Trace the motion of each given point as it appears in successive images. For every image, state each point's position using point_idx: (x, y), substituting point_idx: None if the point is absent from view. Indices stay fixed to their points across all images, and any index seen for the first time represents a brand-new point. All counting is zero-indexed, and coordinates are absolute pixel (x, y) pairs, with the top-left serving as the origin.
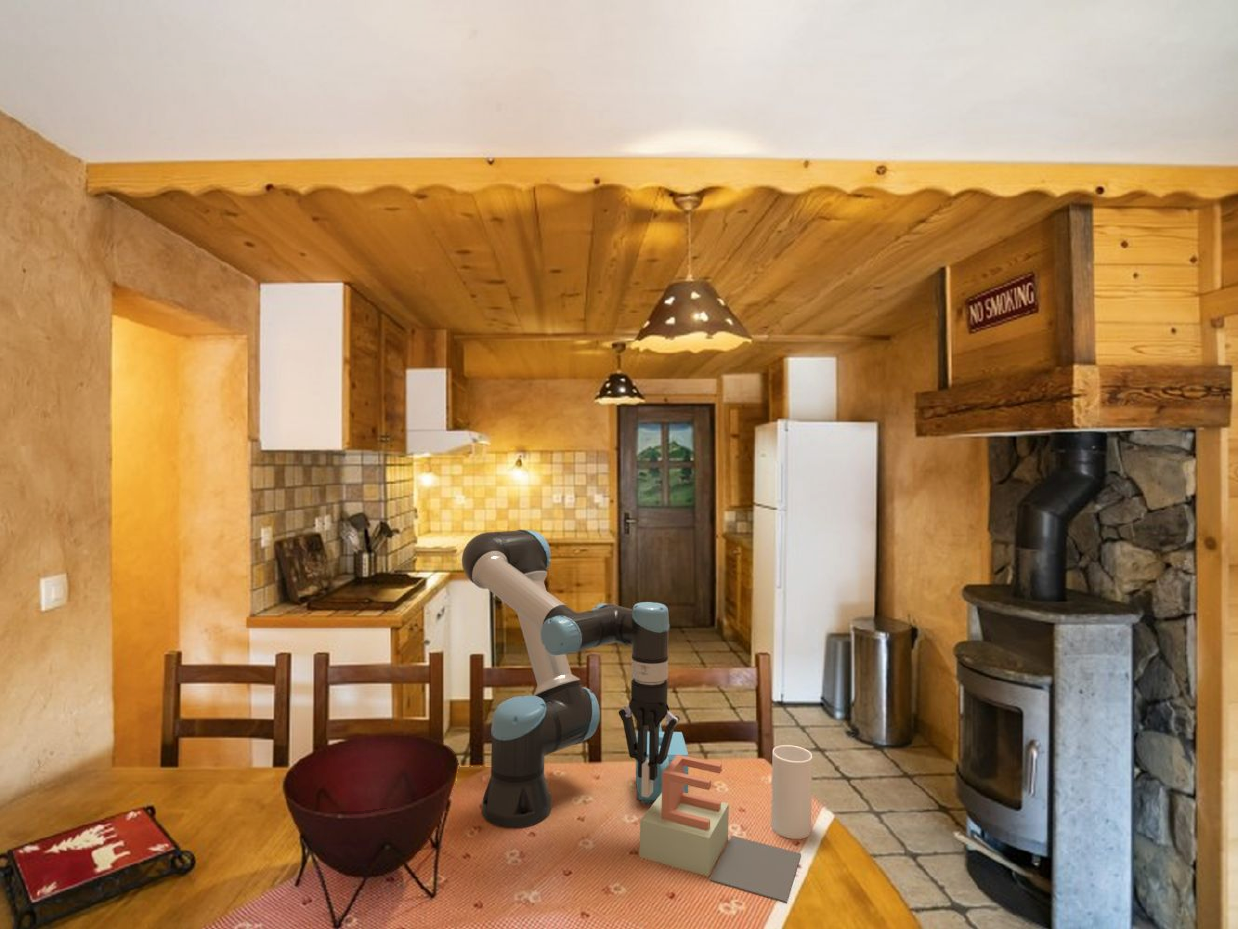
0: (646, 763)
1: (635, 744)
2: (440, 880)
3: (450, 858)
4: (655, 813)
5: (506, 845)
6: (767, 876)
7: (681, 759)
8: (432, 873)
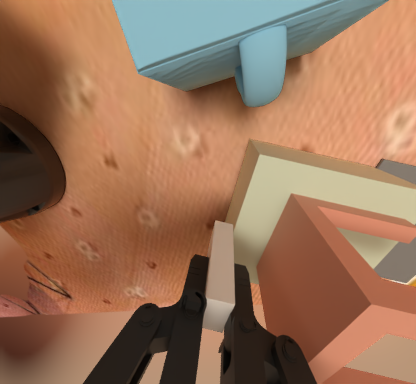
0: (211, 323)
1: (127, 367)
2: (59, 283)
3: (39, 260)
4: (243, 256)
5: (67, 236)
6: (403, 249)
7: (379, 338)
8: (45, 278)
